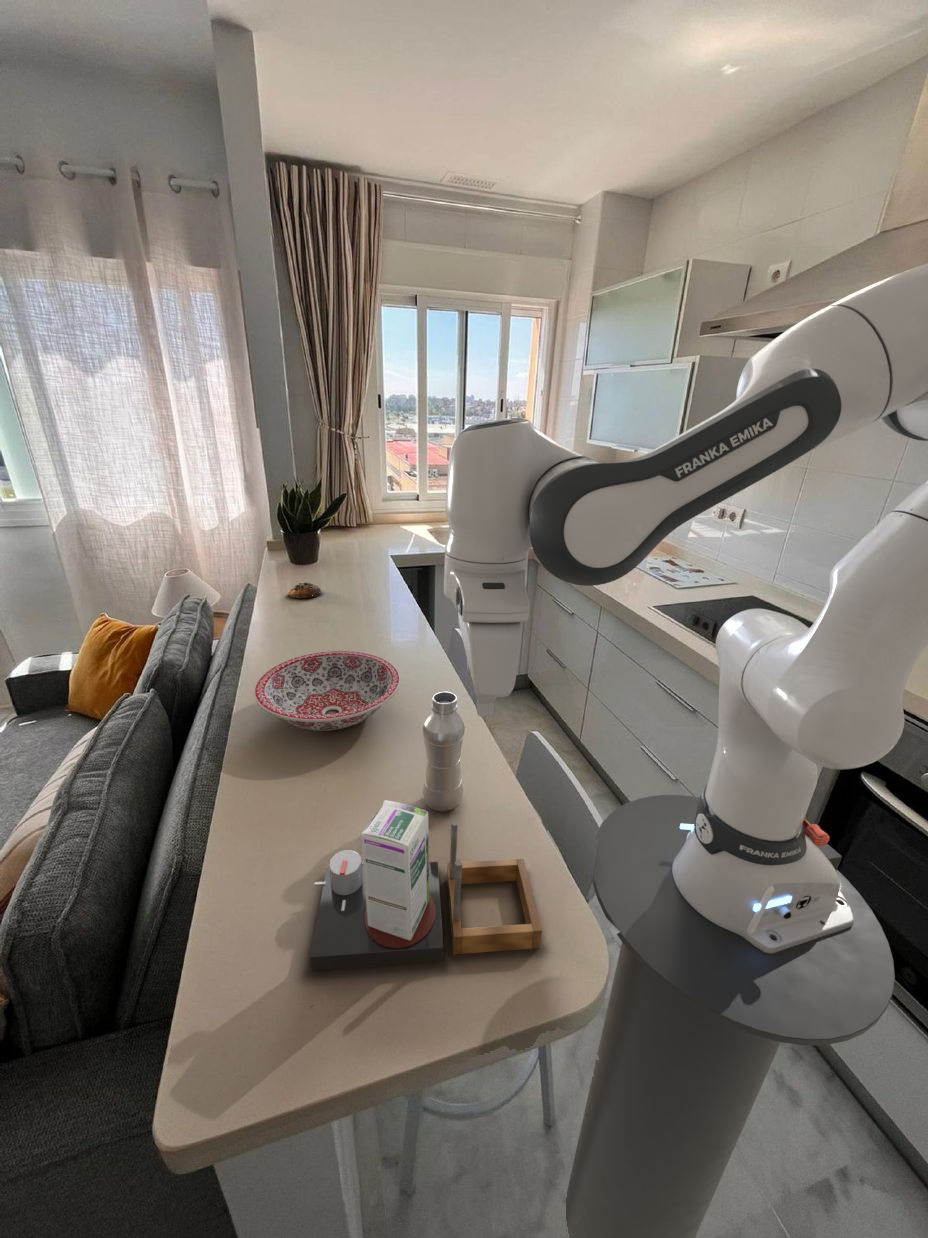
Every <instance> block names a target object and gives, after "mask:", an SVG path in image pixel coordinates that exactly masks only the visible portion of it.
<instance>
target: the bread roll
mask: <svg viewBox="0 0 928 1238" xmlns="http://www.w3.org/2000/svg"><path fill="white" fill-rule="evenodd" d="M289 589H290V590H288V592H287V594H288V595H289V597H291V598H293V599H311V598H316V597H319V596H320V595H321V592H322V590H321V588H320V587H319V586H318V585H315V584H313V583H311V582H299V583H297V584H295V585H294V586H292V587H291V588H289ZM319 592H320V593H319ZM312 595H313V596H312Z"/></svg>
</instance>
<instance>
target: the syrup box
mask: <svg viewBox="0 0 928 1238" xmlns="http://www.w3.org/2000/svg"><path fill="white" fill-rule="evenodd" d="M360 839H361V851H362V866H363V868H364V882H365V893H366V906H367V920H368V925H369V926H370V927H373V928H375V929H378V930H380V931H383V932H386V933H389V934H392V935H395V936H398V937H401V938H403V939H406V940H409V941H410V940H411V939H412V937H413V934H414V932H415V930H416V928H417V926H418V924H419V922H420V920H421V918H422V916H423V913H424V911H425V909H426V907H427V904H428V902H429V862H430V853H429V852H430V850H429V849H430V847H429V812H428V811H427V810H425V809H422V808H419V807H416V806H413V805H410V804H408V803H407V804H406V803H402V802H399V801H392V800H387V799H384V801H383V802H382V804H381V806H380V807H379V809H377V812H376V813H375V814H374V815H373V816H372V818H371V819H370V821H368V824H367V825H366V827H365V829H364V830H363V831H362V832H361V834H360Z"/></svg>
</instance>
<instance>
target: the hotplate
mask: <svg viewBox="0 0 928 1238" xmlns="http://www.w3.org/2000/svg"><path fill="white" fill-rule="evenodd" d="M364 921H365V927H366V930H367V932H368V934H369V935H370V937H371V938H372V939H373V940H374V941H375V942H376V943H378V944H380V945H382V946H384V947H387V948H393V949H401V948H406V947H410V946H412V945H414V944H416V943H418V942H420V941H421V940H422V939H423V938H424V937H425V936H426V935H427V934H428V933H429V931H430V930H431V928H432V926H433V924H434V921H435V905H434V901H433V899H432V897H431V896H430V894H429V902H428V904H427V907H426V909H425V911H424V913H423V916H422V918H421V920H420V922H419V924H418V926H417V928H416V930H415V932H414V934H413V937H412V939H411V940H410V941H409V940H406V939H403V938H401V937H398V936H395V935H392V934H389V933H386V932H383V931H380V930H378V929H375V928H373V927H370V926H369V925H368V920H367V907H366V910H365V915H364Z"/></svg>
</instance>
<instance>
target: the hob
mask: <svg viewBox="0 0 928 1238" xmlns="http://www.w3.org/2000/svg"><path fill="white" fill-rule="evenodd" d="M439 871H440V870H439V861H429V894H430V896H431V897H432V899H433V901H434V905H435V921H434V924H433V926H432V928H431V930H430V931H429V933H428V934H427V935H426V936H425V937H424V938H423V939H422V940H421V941H420V942H418V943H416V944H414V945H412V946H410V947H406V948H401V949H393V948H387V947H384V946H382V945H380V944H378V943H376V942H375V941H374V940H373V939H372V938H371V937H370V935H369V934H368V932H367V930H366V927H365V921H364V915H365V910H366V907H367V906H366V893H365V882H364V868H363V865H362V884H361V886H360V888H359V889H358V890H357V891H356V892H354V893H352V894H350V895H338V894H336V893H335V892H334V891H333V890H332V888H331V880H330V869H329V867H326V868H325V873H324V879H323V881H315V882H314V883H313V885H314V886H322V889H321V894H320V899H319V900H320V901H319V904H318V911H317V914H316V915H317V916H316V920H315V926H314V932H313V937H312V942H311V946H310V952H309V956H308V957H309V966H310V972H311V973H314V972H328V971H340V970H341V971H342V970H353V969H355V970H356V969H366V968H367V969H369V968H380V967H392V966H405V965H418V964H419V965H420V964H430V963H431V964H433V963H442V962H444V935H443V920H442V919H443V918H442V903H441V889H440V888H441V885H440V874H439V873H440V872H439Z"/></svg>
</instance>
